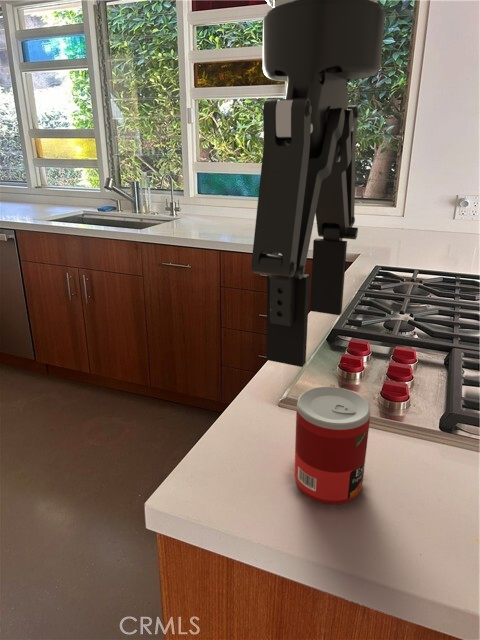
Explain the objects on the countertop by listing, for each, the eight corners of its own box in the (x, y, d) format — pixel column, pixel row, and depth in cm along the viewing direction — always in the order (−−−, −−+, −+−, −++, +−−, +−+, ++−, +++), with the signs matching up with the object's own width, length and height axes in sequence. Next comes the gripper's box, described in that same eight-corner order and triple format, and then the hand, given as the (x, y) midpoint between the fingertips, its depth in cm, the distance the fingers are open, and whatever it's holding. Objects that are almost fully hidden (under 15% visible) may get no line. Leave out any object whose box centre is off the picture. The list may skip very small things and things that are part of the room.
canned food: (364, 511, 51) (373, 427, 47) (291, 502, 52) (294, 420, 48) (359, 464, 58) (368, 388, 54) (295, 458, 59) (298, 383, 55)
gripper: (316, 39, 40) (306, 287, 48) (174, -35, 21) (198, 390, 30) (408, 31, 37) (380, 296, 45) (337, -65, 18) (311, 418, 27)
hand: (308, 333), depth 37 cm, fingers open, 10 cm apart
